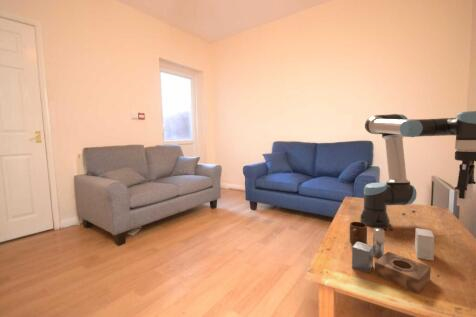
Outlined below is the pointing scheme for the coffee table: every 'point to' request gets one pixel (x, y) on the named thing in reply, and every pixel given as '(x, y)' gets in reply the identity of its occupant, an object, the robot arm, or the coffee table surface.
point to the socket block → (403, 271)
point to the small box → (424, 244)
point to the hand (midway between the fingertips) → (464, 202)
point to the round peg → (378, 242)
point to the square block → (362, 257)
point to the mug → (358, 232)
